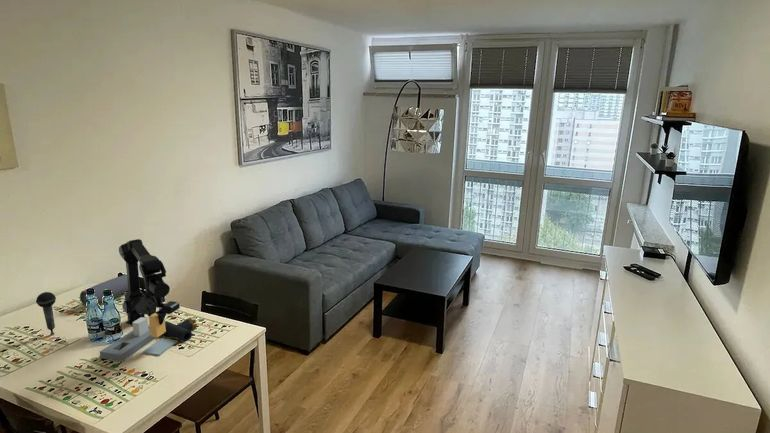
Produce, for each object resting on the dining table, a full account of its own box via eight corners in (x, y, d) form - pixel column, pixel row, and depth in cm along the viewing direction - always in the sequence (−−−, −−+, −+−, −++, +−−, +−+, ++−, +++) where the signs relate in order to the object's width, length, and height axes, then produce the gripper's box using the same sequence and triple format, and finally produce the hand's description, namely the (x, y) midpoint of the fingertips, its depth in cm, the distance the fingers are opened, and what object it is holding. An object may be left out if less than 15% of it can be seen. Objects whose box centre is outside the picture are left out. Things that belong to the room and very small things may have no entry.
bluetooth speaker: (122, 289, 237) (119, 272, 234) (134, 292, 234) (132, 275, 231) (80, 307, 216) (77, 288, 214) (93, 310, 213) (90, 292, 211)
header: (100, 358, 175) (99, 351, 175) (141, 331, 196) (141, 325, 195) (121, 361, 173) (120, 355, 173) (161, 334, 194) (160, 328, 193)
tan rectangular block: (151, 336, 180) (148, 316, 178) (159, 330, 185) (157, 311, 183) (157, 337, 180) (155, 317, 177) (165, 331, 184) (163, 312, 182)
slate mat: (142, 352, 180) (142, 351, 180) (161, 339, 190) (161, 338, 190) (159, 355, 178) (159, 354, 178) (177, 341, 188) (177, 340, 188)
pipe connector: (181, 313, 203) (203, 321, 196) (182, 323, 204) (204, 332, 197) (158, 324, 193) (181, 333, 186) (160, 334, 195) (182, 344, 188)
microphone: (39, 336, 190) (31, 293, 184) (57, 329, 195) (49, 288, 190) (48, 340, 186) (39, 297, 181) (65, 333, 192) (58, 291, 187)
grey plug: (134, 341, 188) (132, 322, 186) (143, 335, 193) (141, 317, 190) (140, 342, 187) (138, 323, 185) (149, 336, 192) (147, 318, 190)
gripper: (118, 294, 172) (123, 330, 176) (159, 300, 168) (163, 337, 172) (139, 283, 182) (143, 317, 186) (178, 288, 178) (182, 323, 182)
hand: (157, 324), depth 181 cm, fingers closed on tan rectangular block, 3 cm apart
